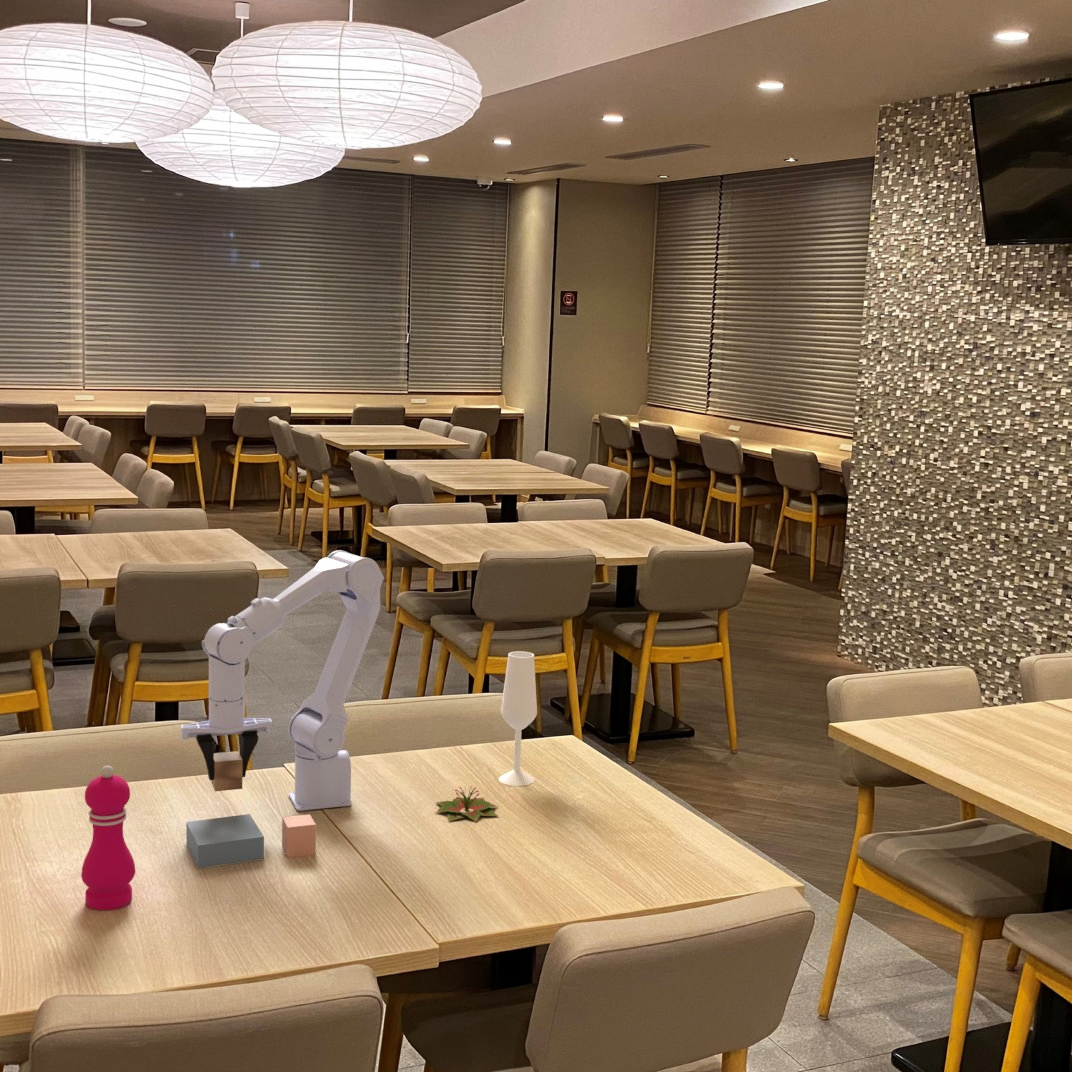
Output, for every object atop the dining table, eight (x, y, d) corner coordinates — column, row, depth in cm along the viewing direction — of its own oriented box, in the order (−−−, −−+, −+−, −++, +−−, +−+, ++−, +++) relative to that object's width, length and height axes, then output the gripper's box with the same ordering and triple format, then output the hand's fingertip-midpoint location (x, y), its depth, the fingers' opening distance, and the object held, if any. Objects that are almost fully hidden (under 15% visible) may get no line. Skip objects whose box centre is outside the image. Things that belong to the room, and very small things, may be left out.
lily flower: (489, 797, 225) (489, 773, 224) (510, 822, 214) (511, 796, 213) (424, 803, 221) (424, 778, 220) (442, 829, 210) (442, 803, 209)
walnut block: (238, 779, 210) (238, 751, 209) (242, 788, 206) (242, 759, 205) (211, 782, 208) (211, 753, 208) (215, 791, 204) (215, 762, 204)
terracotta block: (309, 844, 201) (309, 814, 200) (315, 854, 197) (315, 824, 196) (282, 847, 199) (282, 817, 198) (287, 858, 195) (287, 827, 194)
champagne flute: (534, 786, 230) (539, 659, 227) (497, 785, 231) (502, 658, 227) (534, 774, 237) (539, 650, 233) (499, 772, 237) (503, 649, 234)
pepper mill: (85, 916, 173) (83, 777, 170) (78, 895, 179) (76, 760, 176) (139, 907, 176) (138, 770, 173) (130, 886, 183) (129, 754, 179)
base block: (249, 837, 203) (249, 813, 202) (263, 861, 194) (263, 836, 193) (186, 845, 199) (186, 821, 198) (198, 870, 190) (198, 845, 189)
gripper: (267, 687, 211) (266, 764, 213) (178, 693, 206) (178, 772, 208) (274, 699, 205) (274, 778, 207) (183, 705, 199) (183, 787, 201)
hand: (226, 776), depth 207 cm, fingers closed on walnut block, 4 cm apart
